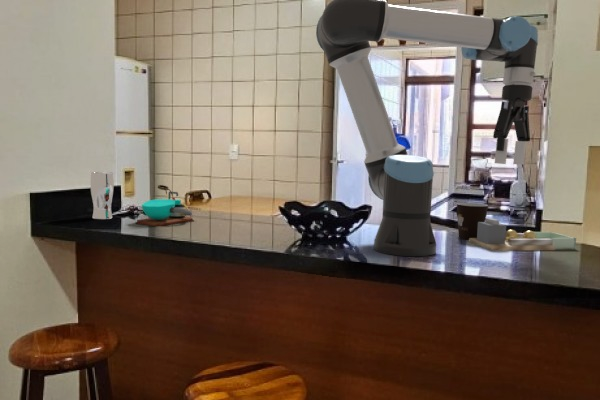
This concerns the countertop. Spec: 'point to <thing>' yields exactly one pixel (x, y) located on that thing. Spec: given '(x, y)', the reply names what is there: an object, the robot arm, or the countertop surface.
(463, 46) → the robot arm
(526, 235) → the brass ball
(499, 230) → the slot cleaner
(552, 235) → the tray
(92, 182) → the beer glass
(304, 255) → the countertop surface
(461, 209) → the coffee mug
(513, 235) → the brass ball
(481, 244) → the jig board
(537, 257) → the countertop surface
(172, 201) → the contraption on wooden base
